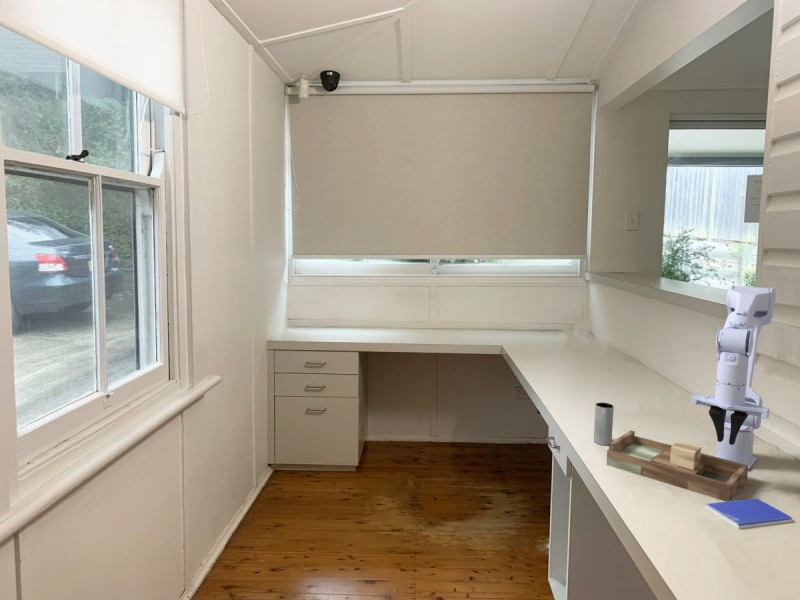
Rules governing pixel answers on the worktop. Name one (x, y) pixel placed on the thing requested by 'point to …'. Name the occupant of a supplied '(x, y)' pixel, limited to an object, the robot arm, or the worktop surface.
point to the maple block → (685, 455)
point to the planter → (603, 423)
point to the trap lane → (677, 467)
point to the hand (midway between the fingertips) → (726, 442)
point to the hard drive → (748, 513)
